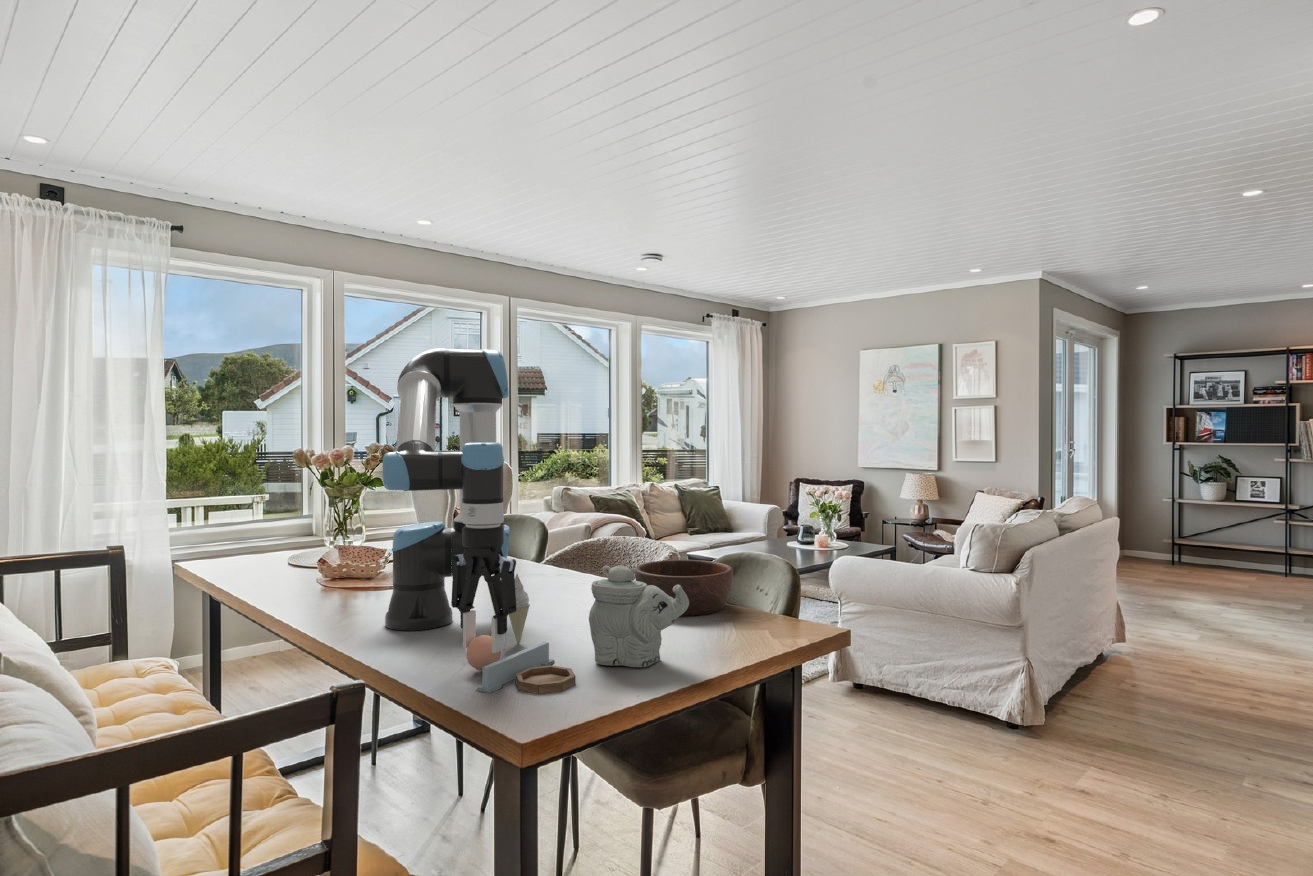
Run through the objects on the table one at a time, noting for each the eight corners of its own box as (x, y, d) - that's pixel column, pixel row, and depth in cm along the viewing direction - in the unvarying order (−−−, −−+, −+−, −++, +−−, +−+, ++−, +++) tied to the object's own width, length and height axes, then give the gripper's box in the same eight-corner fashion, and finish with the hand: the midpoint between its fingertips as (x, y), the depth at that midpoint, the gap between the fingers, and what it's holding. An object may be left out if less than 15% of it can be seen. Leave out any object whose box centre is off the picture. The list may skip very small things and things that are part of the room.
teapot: (692, 666, 145) (691, 567, 145) (625, 681, 136) (625, 576, 136) (644, 646, 158) (643, 556, 158) (580, 659, 150) (580, 563, 150)
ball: (458, 671, 141) (459, 637, 140) (481, 662, 146) (482, 629, 146) (485, 678, 138) (486, 643, 137) (508, 668, 143) (508, 634, 143)
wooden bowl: (614, 611, 190) (614, 570, 190) (670, 593, 211) (670, 556, 211) (700, 625, 176) (699, 580, 176) (750, 604, 197) (750, 565, 197)
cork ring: (505, 687, 133) (505, 678, 133) (539, 671, 142) (539, 663, 142) (552, 696, 129) (552, 687, 129) (584, 679, 137) (584, 670, 137)
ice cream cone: (507, 641, 163) (506, 571, 163) (531, 640, 163) (530, 570, 163) (504, 647, 158) (504, 575, 158) (529, 647, 158) (528, 575, 158)
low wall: (476, 690, 132) (476, 667, 132) (541, 660, 148) (541, 640, 148) (490, 693, 130) (490, 669, 130) (554, 663, 147) (554, 642, 147)
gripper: (429, 524, 142) (430, 646, 143) (511, 531, 134) (511, 661, 134) (457, 519, 149) (458, 636, 150) (537, 525, 140) (537, 650, 141)
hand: (483, 648), depth 142 cm, fingers closed on ball, 6 cm apart
